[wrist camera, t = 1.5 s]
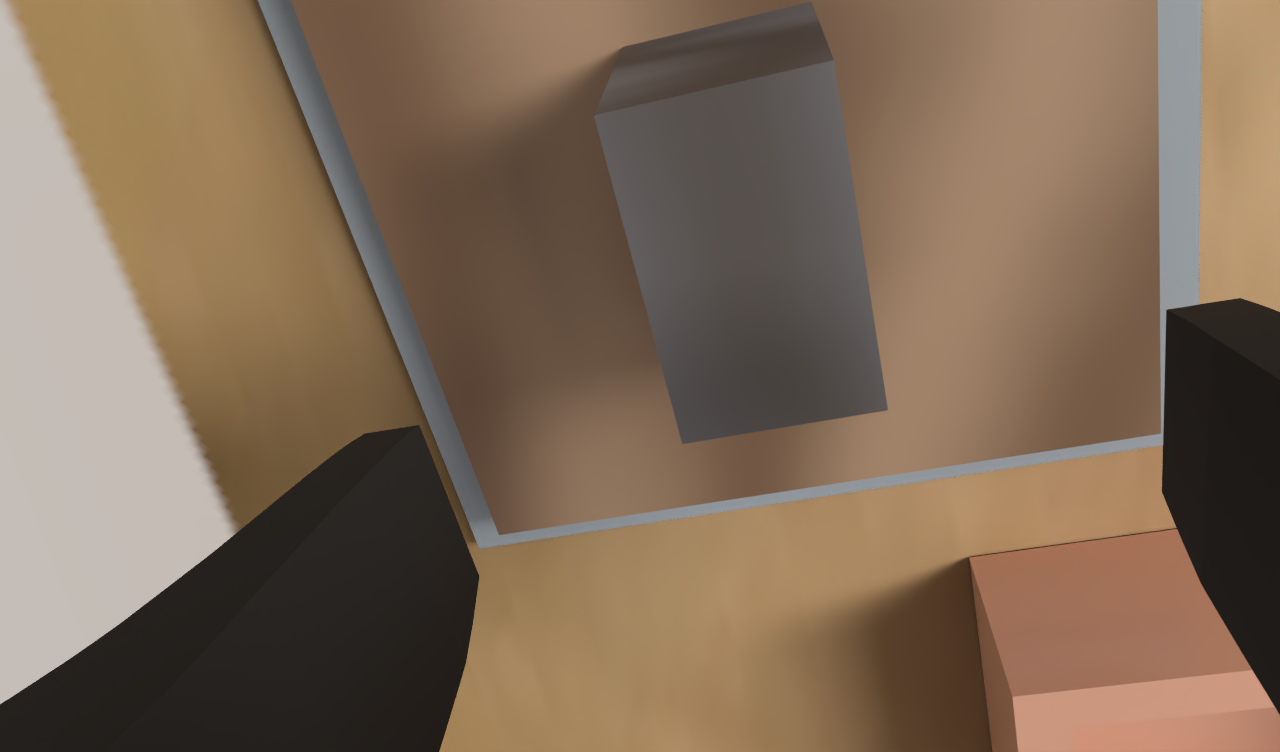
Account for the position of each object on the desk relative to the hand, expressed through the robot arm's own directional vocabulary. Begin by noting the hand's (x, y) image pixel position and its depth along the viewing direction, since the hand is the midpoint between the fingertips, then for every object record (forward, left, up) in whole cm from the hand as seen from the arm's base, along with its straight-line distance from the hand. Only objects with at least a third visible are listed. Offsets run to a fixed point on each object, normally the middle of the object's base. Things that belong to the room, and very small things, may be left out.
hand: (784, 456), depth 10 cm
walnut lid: (0, 0, -9) cm, 9 cm away
